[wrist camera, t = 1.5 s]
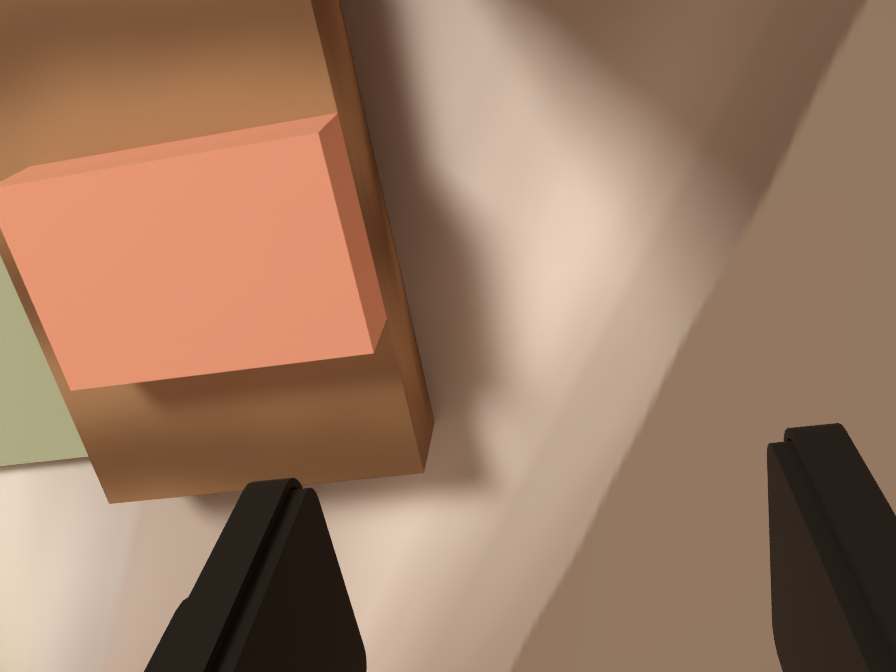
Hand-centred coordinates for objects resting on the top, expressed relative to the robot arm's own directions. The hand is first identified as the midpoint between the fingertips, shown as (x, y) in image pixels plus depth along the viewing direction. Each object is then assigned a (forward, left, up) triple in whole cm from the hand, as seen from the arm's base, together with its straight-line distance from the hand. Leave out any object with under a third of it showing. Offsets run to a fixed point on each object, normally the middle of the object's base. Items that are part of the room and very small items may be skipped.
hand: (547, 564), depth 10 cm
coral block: (0, -10, -13) cm, 16 cm away
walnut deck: (0, -11, -17) cm, 20 cm away
